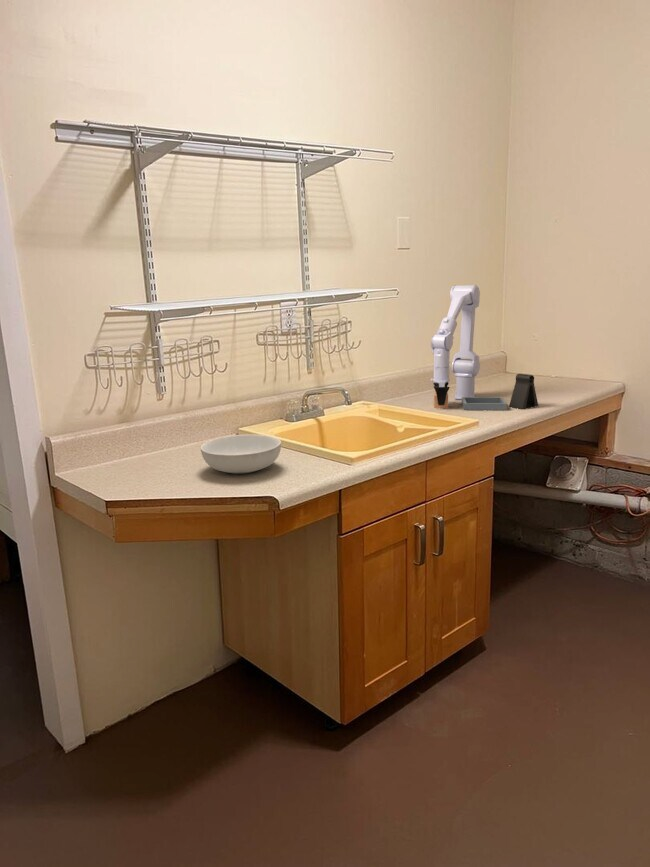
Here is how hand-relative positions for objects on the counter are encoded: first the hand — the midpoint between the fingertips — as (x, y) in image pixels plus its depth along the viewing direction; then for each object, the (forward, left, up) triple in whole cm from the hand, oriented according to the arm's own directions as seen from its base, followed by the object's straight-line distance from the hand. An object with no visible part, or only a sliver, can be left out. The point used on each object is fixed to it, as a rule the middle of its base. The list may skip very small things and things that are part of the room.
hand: (441, 403), depth 245 cm
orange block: (0, 0, -2) cm, 2 cm away
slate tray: (0, +16, -1) cm, 16 cm away
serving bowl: (+83, -54, -2) cm, 99 cm away
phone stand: (-1, +30, -2) cm, 30 cm away
